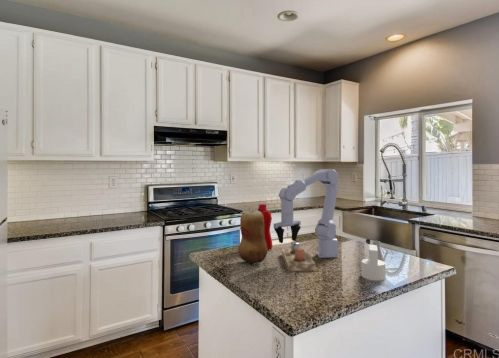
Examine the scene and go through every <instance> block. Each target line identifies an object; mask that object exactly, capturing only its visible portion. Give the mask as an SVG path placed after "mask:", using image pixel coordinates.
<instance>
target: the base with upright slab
mask: <svg viewBox="0 0 499 358" xmlns="http://www.w3.org/2000/svg"><path fill="white" fill-rule="evenodd" d="M368 255H369V256H368V258H363V259H362V260H361V277H362V278H364V279H366V280H370V281H378V282H379V281H383V280H386V262H383V261H381V260H378V249H377V245H374V244H368Z"/></svg>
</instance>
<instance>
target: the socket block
mask: <svg viewBox="0 0 499 358" xmlns="http://www.w3.org/2000/svg"><path fill="white" fill-rule="evenodd" d="M303 249H304V260H302V261H298V260H295V253H292V252H291V248H285V249H284V248H282V249H281V257H282V259H283V261H285V262H284V264H285V267H286V269H287V271H288V272H297V271H298V272H299V271H303V272H304V271H305V272H308V271H316V262H315V261H314V260H313V258H312V257H311V255H310V254H309V252H308V251H307V249H306V248H303Z"/></svg>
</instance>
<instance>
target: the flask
mask: <svg viewBox="0 0 499 358" xmlns="http://www.w3.org/2000/svg"><path fill="white" fill-rule="evenodd" d="M372 242H373V245H377V249H378V260H381V261H383V262H385V259H384V256H383V254H382V250H381V246H380V244H381V241H380V240H373V241H372ZM385 263H386V262H385Z"/></svg>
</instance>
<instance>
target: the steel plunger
mask: <svg viewBox="0 0 499 358" xmlns="http://www.w3.org/2000/svg"><path fill="white" fill-rule="evenodd" d="M290 244H291V245H290V246H291V247H290V249H291V252H292V253H295V249H297V248H300V242H298V241H292V242H290Z"/></svg>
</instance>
